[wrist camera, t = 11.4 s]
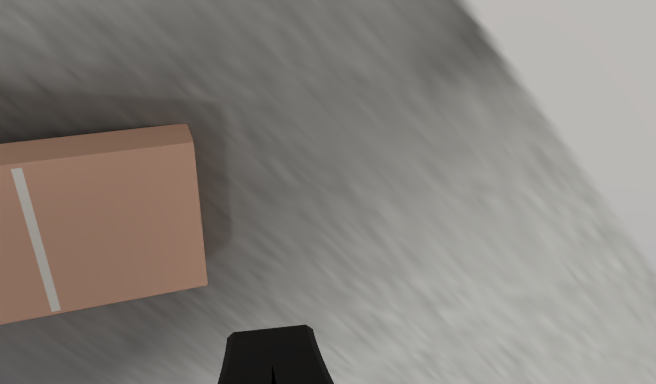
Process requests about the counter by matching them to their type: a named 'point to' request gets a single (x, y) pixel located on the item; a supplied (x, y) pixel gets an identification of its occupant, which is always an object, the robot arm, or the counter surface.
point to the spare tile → (98, 220)
